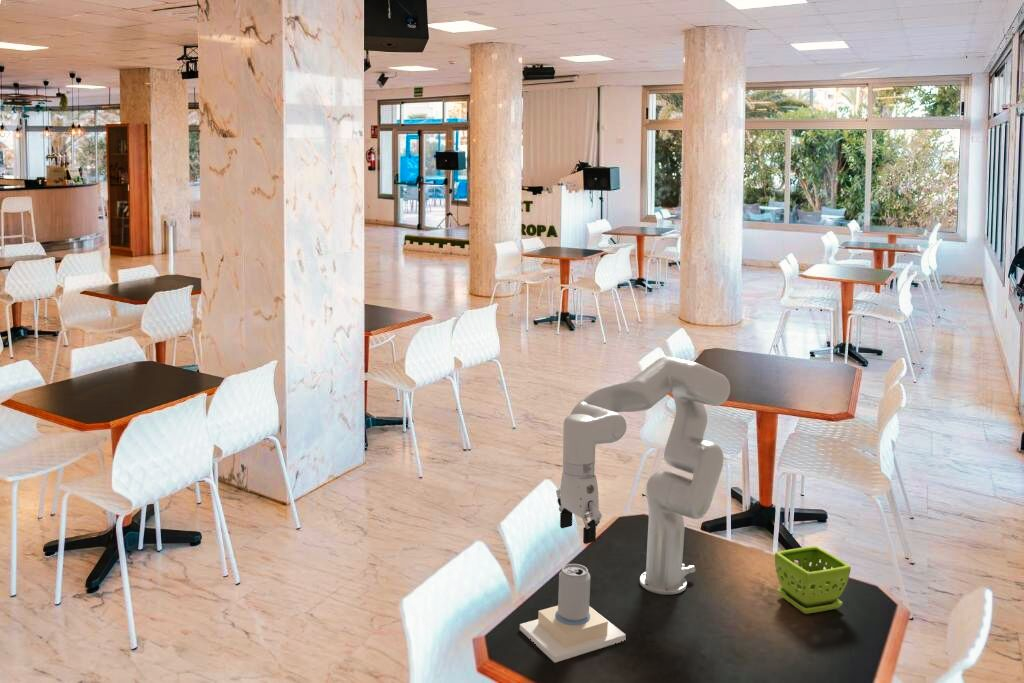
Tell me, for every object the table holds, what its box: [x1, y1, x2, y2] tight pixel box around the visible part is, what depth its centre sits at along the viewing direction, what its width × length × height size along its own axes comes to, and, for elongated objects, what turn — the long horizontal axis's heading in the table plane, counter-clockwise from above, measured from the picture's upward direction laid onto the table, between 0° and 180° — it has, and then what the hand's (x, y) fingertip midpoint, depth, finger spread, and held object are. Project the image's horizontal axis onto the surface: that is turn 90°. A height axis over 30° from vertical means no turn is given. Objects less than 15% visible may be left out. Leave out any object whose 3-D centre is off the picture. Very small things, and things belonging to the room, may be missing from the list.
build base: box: [519, 605, 627, 663], centre depth 210 cm, size 20×16×5 cm
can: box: [557, 563, 591, 621], centre depth 209 cm, size 8×8×12 cm
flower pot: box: [774, 545, 852, 615], centre depth 226 cm, size 14×14×13 cm
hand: (577, 534), depth 209 cm, fingers open, 9 cm apart
